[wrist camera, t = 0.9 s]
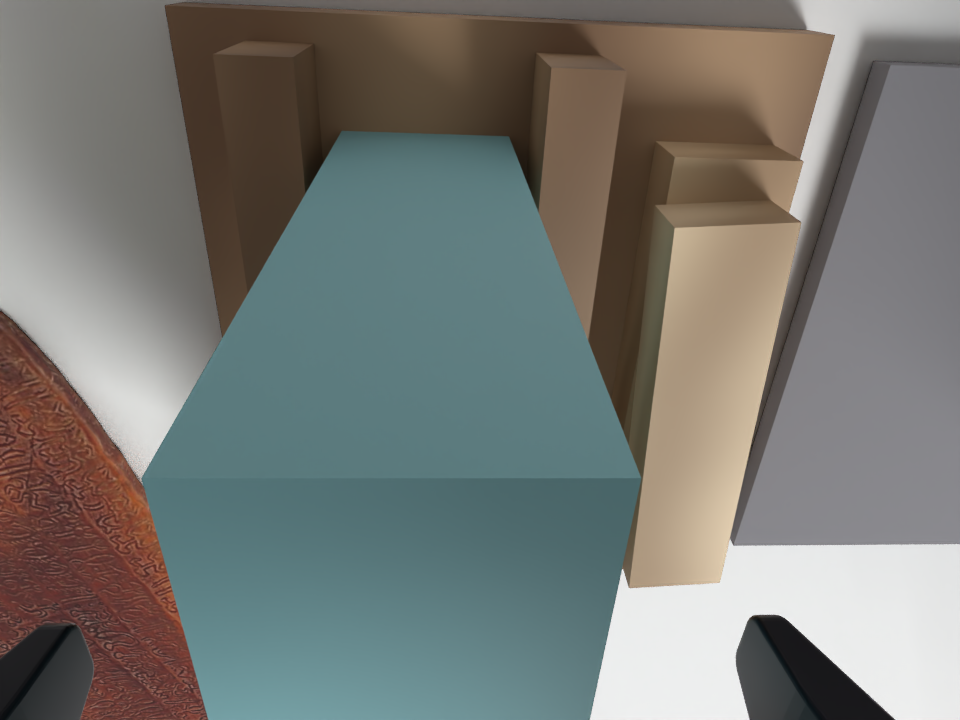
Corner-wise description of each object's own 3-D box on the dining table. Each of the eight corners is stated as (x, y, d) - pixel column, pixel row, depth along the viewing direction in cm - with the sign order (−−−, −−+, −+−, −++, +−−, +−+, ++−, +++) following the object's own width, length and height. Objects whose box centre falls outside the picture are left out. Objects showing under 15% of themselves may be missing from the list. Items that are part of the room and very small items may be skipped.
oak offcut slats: (784, 145, 13) (850, 180, 11) (684, 517, 18) (717, 591, 16) (645, 140, 13) (685, 176, 11) (583, 518, 18) (602, 592, 16)
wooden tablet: (-340, 378, 17) (-414, 417, 15) (22, 271, 16) (-21, 302, 14) (184, 860, 30) (171, 905, 29) (397, 818, 29) (395, 863, 28)
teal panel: (508, 136, 13) (640, 478, 4) (484, 518, 18) (525, 1021, 10) (341, 131, 13) (141, 477, 4) (365, 518, 18) (295, 1033, 9)
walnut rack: (809, 29, 13) (898, 47, 11) (674, 542, 20) (708, 627, 18) (183, 2, 12) (116, 13, 10) (270, 545, 20) (245, 634, 17)
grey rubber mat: (1239, 76, 14) (1269, 80, 14) (978, 529, 21) (992, 543, 20) (873, 61, 14) (890, 64, 13) (726, 530, 20) (733, 545, 20)
